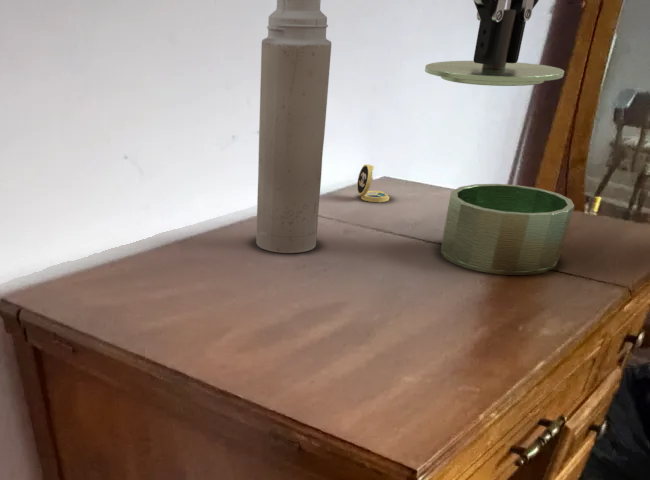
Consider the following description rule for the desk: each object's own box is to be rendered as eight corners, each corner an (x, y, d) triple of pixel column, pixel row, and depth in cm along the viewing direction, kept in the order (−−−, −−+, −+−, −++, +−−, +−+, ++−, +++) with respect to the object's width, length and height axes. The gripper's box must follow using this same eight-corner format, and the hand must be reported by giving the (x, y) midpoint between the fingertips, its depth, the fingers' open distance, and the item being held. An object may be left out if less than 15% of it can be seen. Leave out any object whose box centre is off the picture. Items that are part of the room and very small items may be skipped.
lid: (486, 68, 93) (498, 5, 89) (590, 82, 83) (609, 11, 79) (396, 75, 86) (404, 7, 82) (497, 92, 76) (512, 15, 72)
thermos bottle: (291, 231, 100) (306, -24, 82) (328, 247, 95) (351, -22, 77) (244, 240, 96) (249, -24, 79) (279, 257, 91) (293, -22, 74)
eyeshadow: (392, 201, 114) (397, 167, 110) (362, 202, 113) (366, 168, 110) (383, 194, 117) (387, 161, 114) (354, 195, 116) (357, 161, 113)
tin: (492, 233, 101) (504, 179, 97) (580, 262, 92) (598, 204, 87) (417, 249, 95) (426, 192, 90) (503, 283, 86) (519, 221, 81)
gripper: (511, -167, 66) (470, 70, 78) (619, -154, 73) (566, 62, 85) (451, -159, 71) (421, 63, 83) (558, -147, 78) (516, 56, 90)
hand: (495, 61), depth 84 cm, fingers closed on lid, 2 cm apart
